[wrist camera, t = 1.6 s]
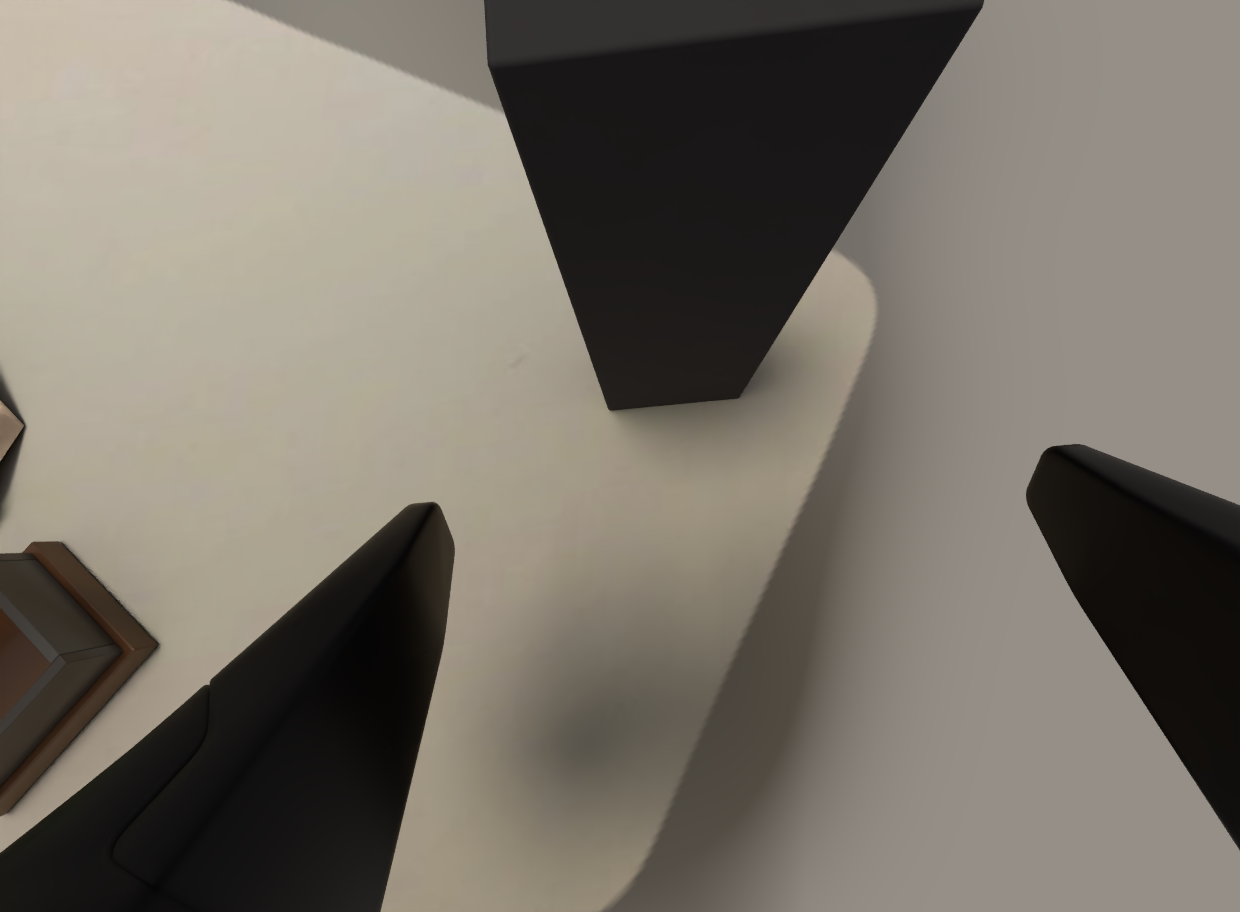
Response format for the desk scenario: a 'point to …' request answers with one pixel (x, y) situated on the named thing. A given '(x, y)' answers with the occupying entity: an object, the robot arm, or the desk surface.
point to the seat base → (55, 658)
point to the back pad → (704, 162)
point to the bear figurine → (8, 429)
